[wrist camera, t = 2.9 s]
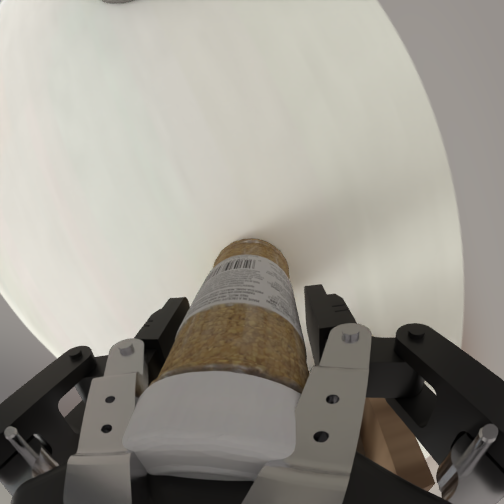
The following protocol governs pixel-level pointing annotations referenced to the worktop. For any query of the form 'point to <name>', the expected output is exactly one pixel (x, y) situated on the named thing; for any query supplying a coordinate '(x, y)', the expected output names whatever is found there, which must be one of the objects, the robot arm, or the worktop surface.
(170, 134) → the worktop surface
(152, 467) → the sprinkles bottle
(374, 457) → the bracket
